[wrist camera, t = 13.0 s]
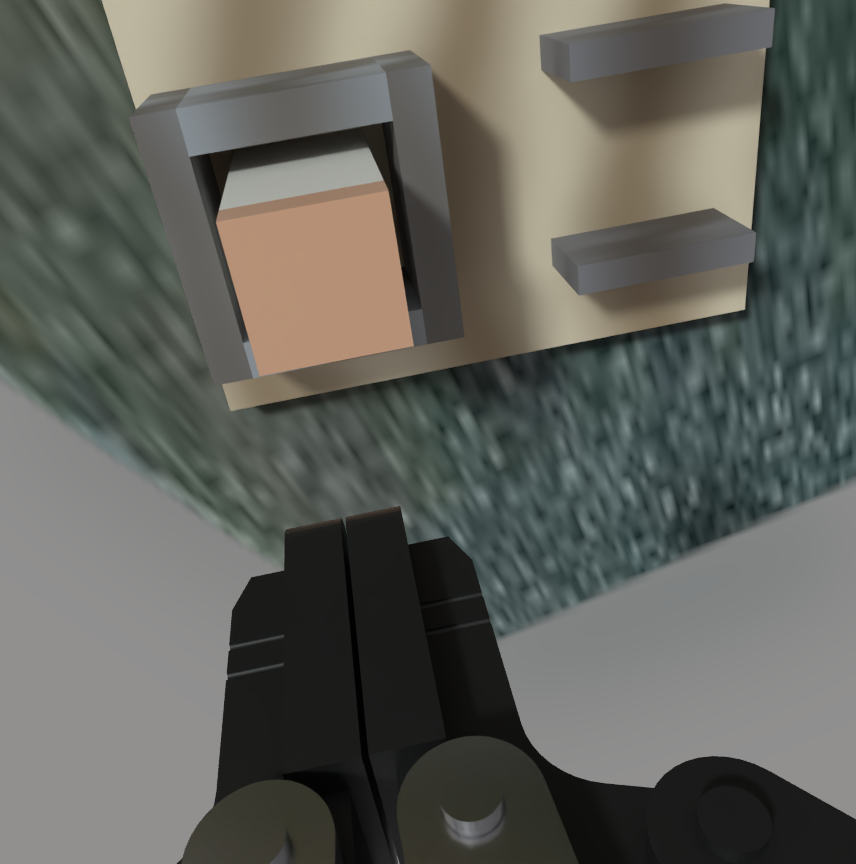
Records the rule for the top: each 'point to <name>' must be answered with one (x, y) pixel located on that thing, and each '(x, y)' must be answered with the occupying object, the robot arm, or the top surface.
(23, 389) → the top surface
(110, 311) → the top surface
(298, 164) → the plug
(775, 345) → the top surface
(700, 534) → the top surface
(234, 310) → the panel
